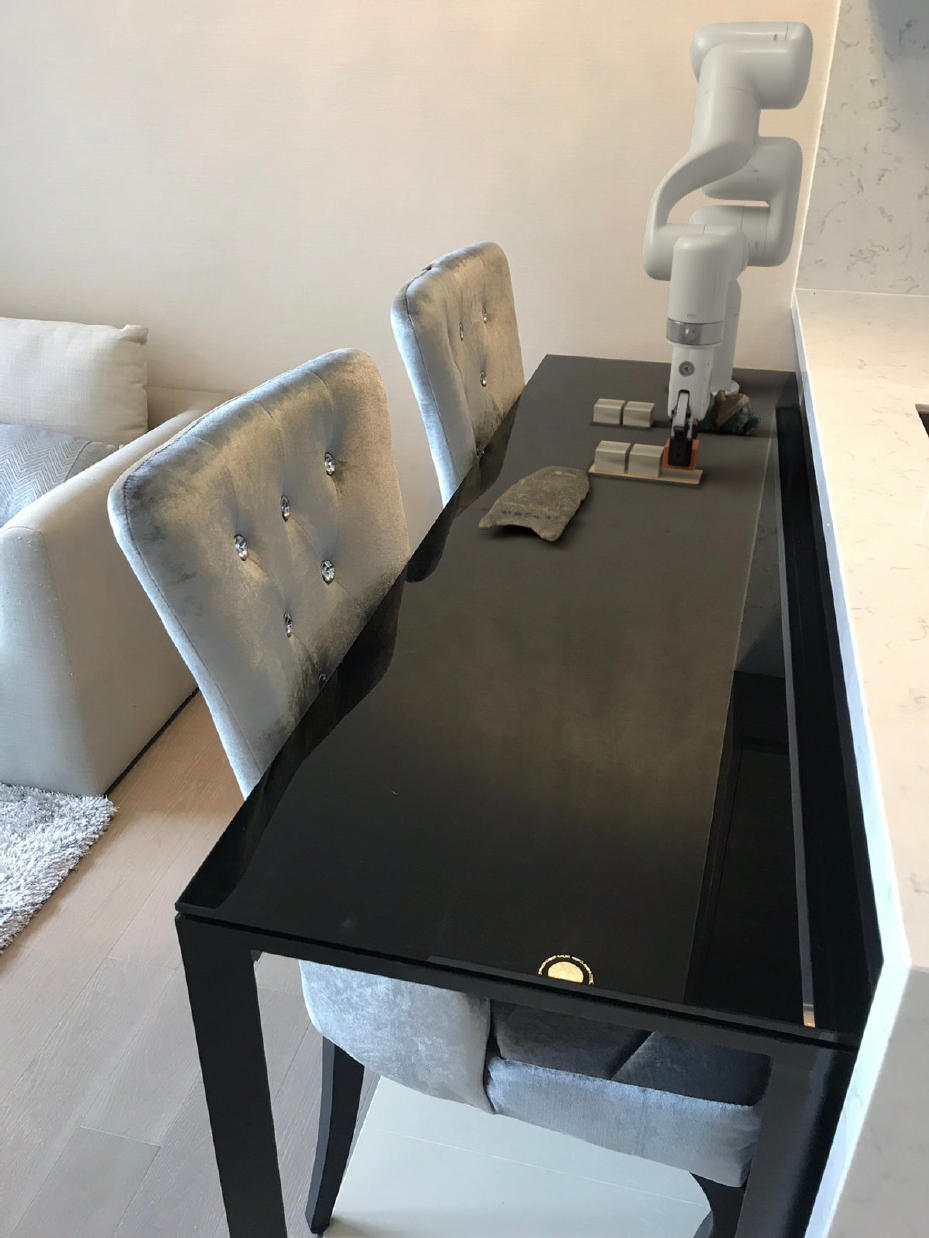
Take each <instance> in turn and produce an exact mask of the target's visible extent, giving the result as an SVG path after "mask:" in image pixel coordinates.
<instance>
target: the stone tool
mask: <svg viewBox="0 0 929 1238" xmlns="http://www.w3.org/2000/svg"><path fill="white" fill-rule="evenodd" d="M589 487H590V482H589V475H588V474H587V472H586V471H585V470H583V469H582V470H581V469H576V468H573V467H566V466H559V465H550V466H546V467H542V468H540V469H538V470H536V471H535V472H533V473H532V474H530V475H525V477H523V478H521V479H519V480H518V482H517V483H514V484H512V485H511V486H510V487H509V489H506V490H505V491H504V493H502V494H501V495H500V497H498V498H497V499H496V501H495V502H494V504H493V505H492V507H491V508H490V510H489V511H488V513H486V514H485V515H484V516H483V517H482V518H481V519H480V521H479V523H478V529H480V530H482V531H487V530H490V529H492V528H496V527H505V526H519V527H523V528H529V529H531V530H532V531H534V532H535V533H536V534H537V535H538V536H539V537H540V538H541V539H543V540H545V541H548V542H555V541H556V540H557V539H559V538H560V536H561V535H562V534H563V531H564V530H565V529H566V526H567V525H568V524H569V521H570V520H571V519H572V518H573V517H575V514H576V513H577V510H578V509H580V505H581V502H582V501H584V500H585V499H586V497H587V494H588V493H589V492H590V488H589Z"/></svg>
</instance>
